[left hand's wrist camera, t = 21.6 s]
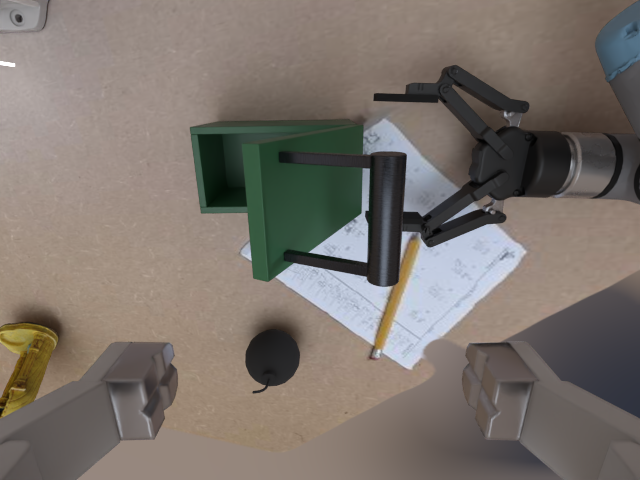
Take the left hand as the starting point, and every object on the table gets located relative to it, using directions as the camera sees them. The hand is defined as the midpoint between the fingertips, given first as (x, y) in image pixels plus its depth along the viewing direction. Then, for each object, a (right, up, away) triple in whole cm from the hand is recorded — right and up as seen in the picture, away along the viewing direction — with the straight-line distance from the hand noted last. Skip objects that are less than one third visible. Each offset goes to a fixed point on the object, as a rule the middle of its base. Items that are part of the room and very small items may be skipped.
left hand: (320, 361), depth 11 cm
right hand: (+6, +13, +33) cm, 36 cm away
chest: (-5, +14, +39) cm, 42 cm away
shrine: (-42, -12, +49) cm, 66 cm away
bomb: (-7, -12, +49) cm, 51 cm away
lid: (-1, +8, +21) cm, 23 cm away
